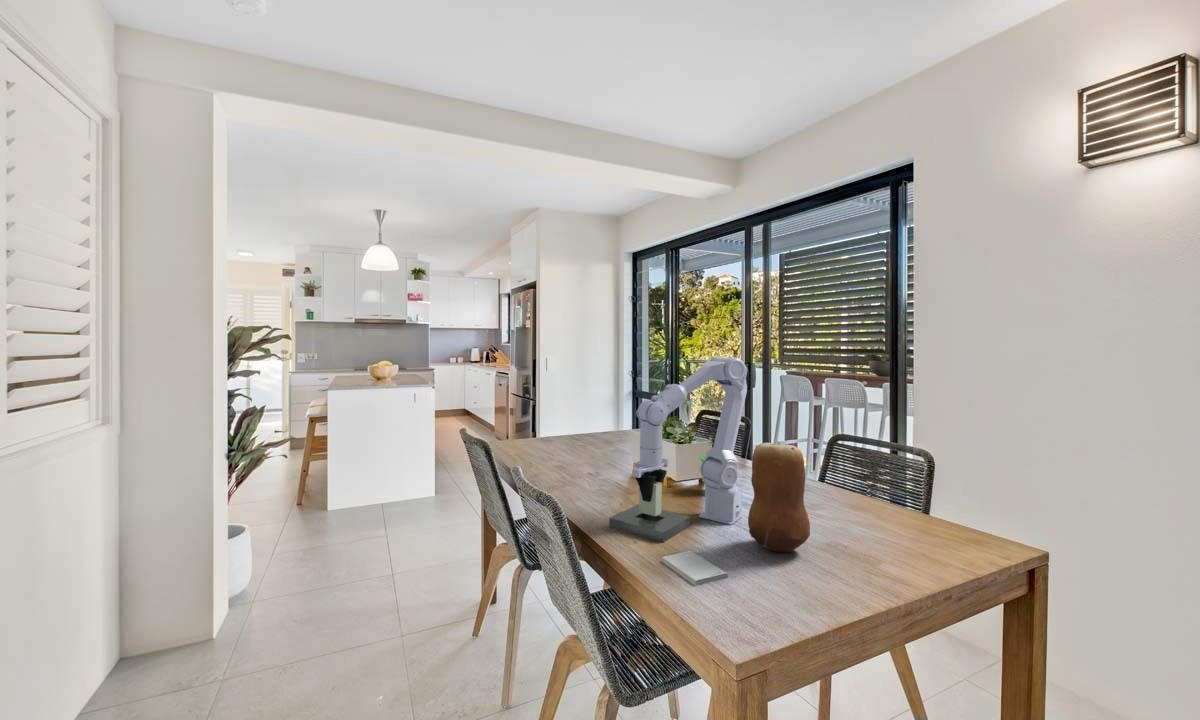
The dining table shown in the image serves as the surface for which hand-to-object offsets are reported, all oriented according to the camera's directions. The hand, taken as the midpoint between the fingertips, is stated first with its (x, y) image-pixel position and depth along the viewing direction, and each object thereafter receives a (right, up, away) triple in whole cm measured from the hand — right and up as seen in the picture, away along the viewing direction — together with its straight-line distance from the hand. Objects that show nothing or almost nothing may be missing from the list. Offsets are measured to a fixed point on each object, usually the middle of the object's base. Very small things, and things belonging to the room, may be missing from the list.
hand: (650, 499), depth 133 cm
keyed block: (0, -4, 0) cm, 4 cm away
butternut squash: (+28, -8, -13) cm, 32 cm away
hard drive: (+7, -9, -24) cm, 26 cm away
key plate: (0, -7, 0) cm, 7 cm away
